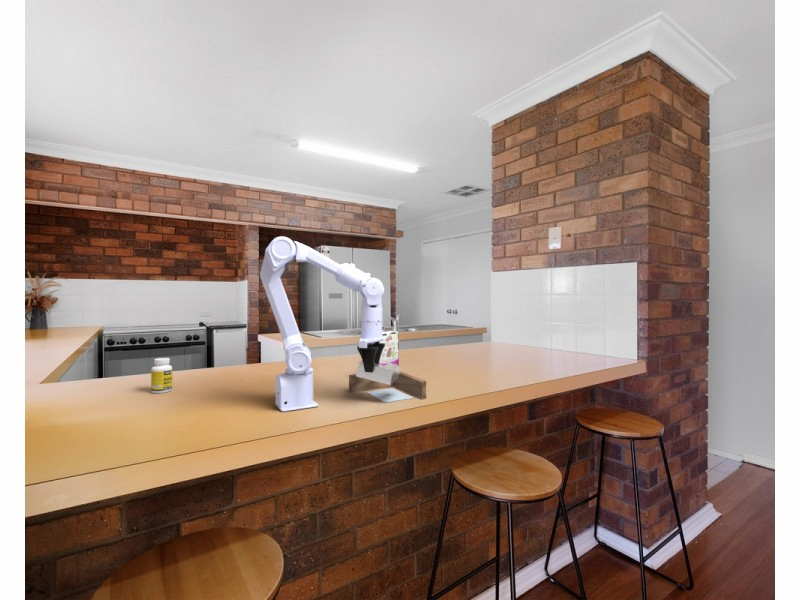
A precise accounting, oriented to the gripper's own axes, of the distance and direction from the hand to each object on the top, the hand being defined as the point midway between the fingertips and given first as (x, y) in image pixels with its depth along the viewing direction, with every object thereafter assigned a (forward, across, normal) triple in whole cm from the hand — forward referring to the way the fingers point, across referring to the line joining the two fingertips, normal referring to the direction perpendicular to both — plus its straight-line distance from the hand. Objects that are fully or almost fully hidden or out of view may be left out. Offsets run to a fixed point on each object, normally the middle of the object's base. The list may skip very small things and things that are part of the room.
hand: (371, 370), depth 107 cm
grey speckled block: (+2, +2, -1) cm, 4 cm away
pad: (+8, +7, -3) cm, 11 cm away
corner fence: (+8, +6, -1) cm, 11 cm away
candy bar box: (+9, +25, +4) cm, 27 cm away
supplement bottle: (+9, -8, +64) cm, 65 cm away
